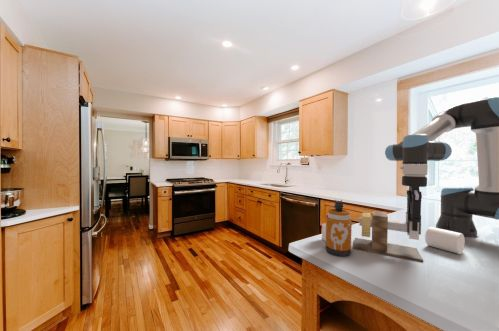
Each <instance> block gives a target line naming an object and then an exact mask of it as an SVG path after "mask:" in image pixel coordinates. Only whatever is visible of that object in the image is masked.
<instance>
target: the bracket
mask: <svg viewBox="0 0 499 331" xmlns="http://www.w3.org/2000/svg"><path fill="white" fill-rule="evenodd" d="M371 213H372V214H371V218H372V227H371V240H370V239H365V238H359V237H355V238H354V241H353V248H352V249H354V250H357V251H359V250H360V251H366V252H369V253H373V254H375V253H376V254H379V255H384V256H390V257H395V258H401V259H404V260H405V259H406V260H410V259H411V260H410V261H415V260H417V261H416V262H420V261H423V262H424V259H423V257H422V255H421V252H419V250H418V248H417V247H413V246H406V245H399V244H394V243H389V242H388V231H389V230H388V220H389V217H388V213H387V212H386V211H376V210H375V211H374V210H372V211H371Z"/></svg>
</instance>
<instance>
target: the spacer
mask: <svg viewBox="0 0 499 331" xmlns="http://www.w3.org/2000/svg"><path fill="white" fill-rule="evenodd" d="M371 213H372V212H371ZM371 213H370V212H362V215H361V217H362V226H361V237H366V238H371V227H370V224H371V218H372V214H371Z"/></svg>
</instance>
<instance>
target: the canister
mask: <svg viewBox="0 0 499 331" xmlns="http://www.w3.org/2000/svg"><path fill="white" fill-rule="evenodd" d="M343 207H344V202H343V199H341V200H337V199H335V202H334V205H332V206H329V207H328V211H327V214H328V217H327V216H326V221H325V223H326V241H325V251H327V252H328V253H331V254H332V255H334V256H340V257H342V256H349V255H351V254H352V226H353V224H352V223H353V222H352V219H351V213H350V212H349V211H348V210H346V209H343Z"/></svg>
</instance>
